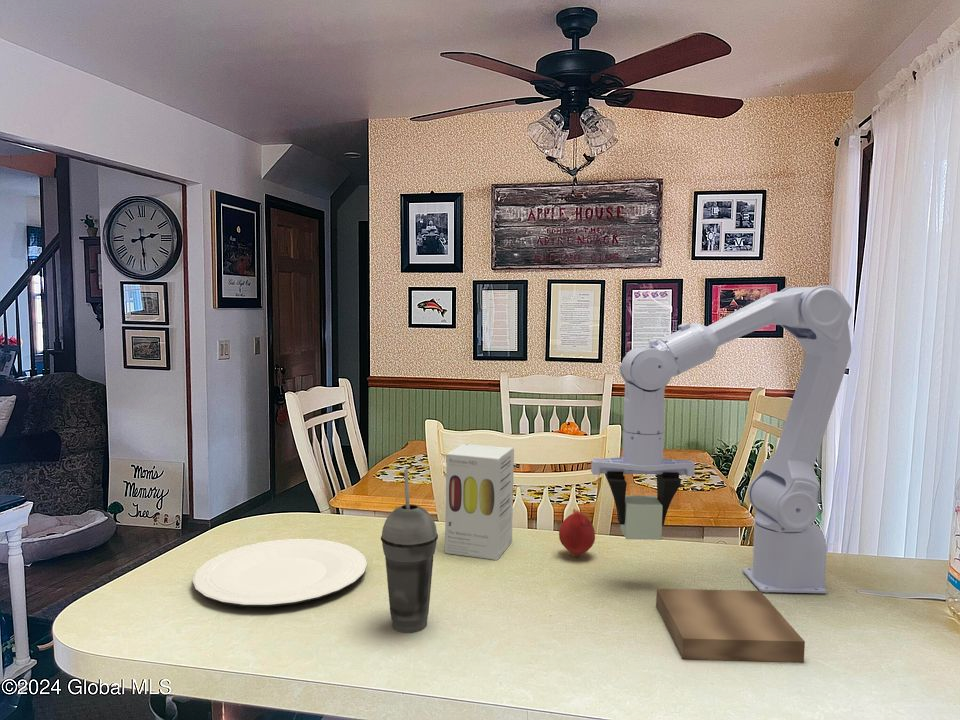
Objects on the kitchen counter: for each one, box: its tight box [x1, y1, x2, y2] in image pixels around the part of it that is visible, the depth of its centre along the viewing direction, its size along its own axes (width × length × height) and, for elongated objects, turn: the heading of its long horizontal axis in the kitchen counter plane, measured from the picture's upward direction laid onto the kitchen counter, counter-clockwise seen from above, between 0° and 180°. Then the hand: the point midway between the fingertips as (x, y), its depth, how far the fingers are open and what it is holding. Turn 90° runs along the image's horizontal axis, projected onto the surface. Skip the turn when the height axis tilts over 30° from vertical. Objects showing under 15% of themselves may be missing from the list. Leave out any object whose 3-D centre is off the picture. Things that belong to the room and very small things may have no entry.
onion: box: [558, 507, 596, 558], centre depth 113 cm, size 6×6×8 cm
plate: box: [191, 538, 368, 607], centre depth 103 cm, size 25×25×2 cm
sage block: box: [619, 494, 663, 541], centre depth 101 cm, size 5×5×5 cm
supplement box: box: [444, 442, 515, 561], centre depth 116 cm, size 10×9×17 cm
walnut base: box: [655, 588, 806, 663], centre depth 87 cm, size 14×14×2 cm
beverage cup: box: [380, 469, 439, 634], centre depth 88 cm, size 7×7×20 cm
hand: (640, 522), depth 101 cm, fingers closed on sage block, 5 cm apart
